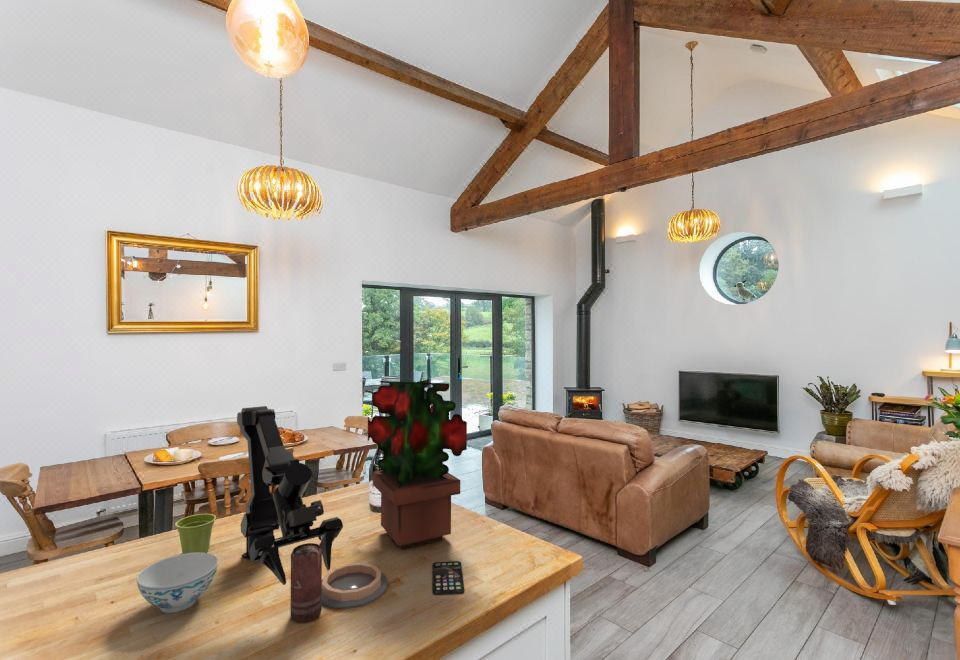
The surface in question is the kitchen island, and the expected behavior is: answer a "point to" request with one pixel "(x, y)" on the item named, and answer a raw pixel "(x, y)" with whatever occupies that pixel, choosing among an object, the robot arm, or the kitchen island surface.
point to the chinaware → (177, 580)
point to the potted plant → (416, 459)
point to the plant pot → (195, 532)
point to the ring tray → (352, 585)
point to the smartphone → (447, 578)
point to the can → (306, 582)
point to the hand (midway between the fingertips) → (307, 576)
